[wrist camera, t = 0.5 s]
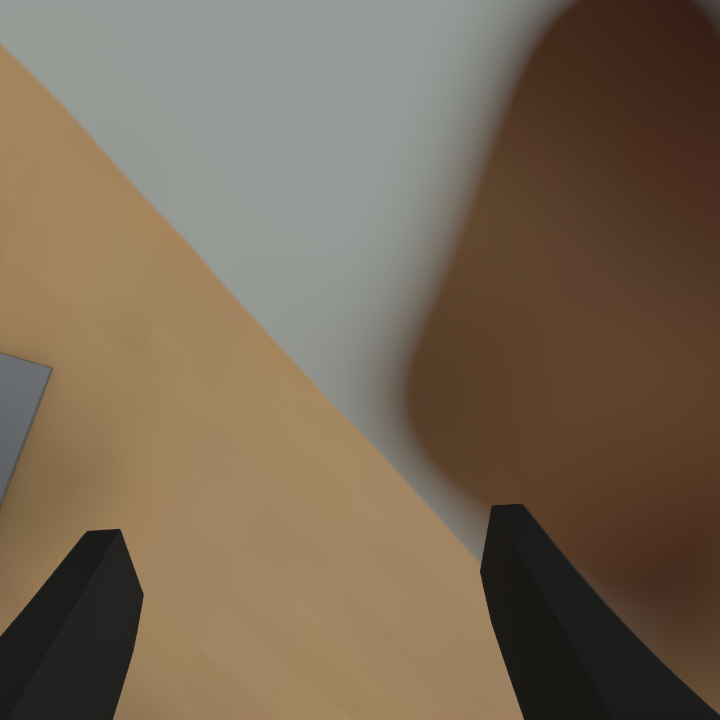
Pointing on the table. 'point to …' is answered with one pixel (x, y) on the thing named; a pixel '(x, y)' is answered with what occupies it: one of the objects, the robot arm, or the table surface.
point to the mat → (17, 409)
